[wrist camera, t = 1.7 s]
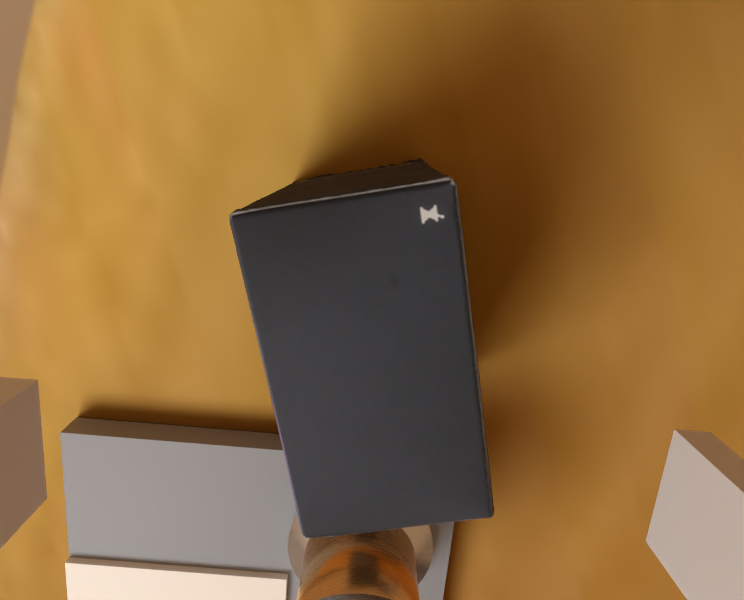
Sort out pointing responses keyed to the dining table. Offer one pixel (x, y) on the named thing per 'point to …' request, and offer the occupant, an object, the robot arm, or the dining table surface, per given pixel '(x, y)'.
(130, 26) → the dining table surface
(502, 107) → the dining table surface
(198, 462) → the board
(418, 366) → the small box
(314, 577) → the bobbin
